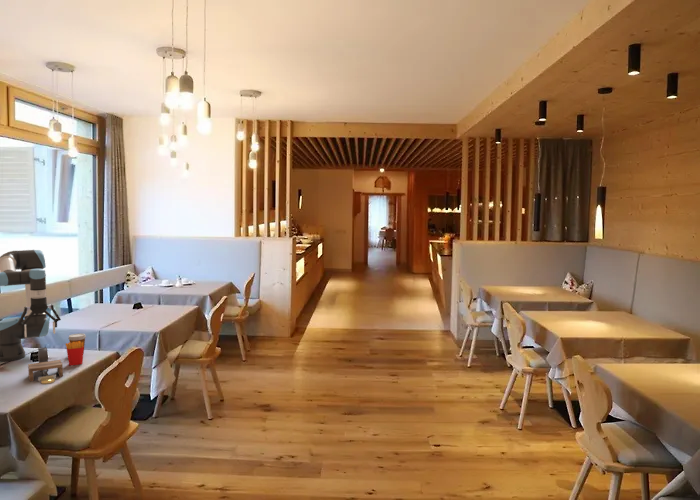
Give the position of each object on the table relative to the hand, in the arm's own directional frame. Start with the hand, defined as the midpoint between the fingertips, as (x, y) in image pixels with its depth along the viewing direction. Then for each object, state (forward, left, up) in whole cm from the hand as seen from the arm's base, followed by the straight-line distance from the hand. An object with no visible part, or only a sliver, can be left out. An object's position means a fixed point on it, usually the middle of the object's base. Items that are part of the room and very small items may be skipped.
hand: (40, 335), depth 289 cm
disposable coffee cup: (-21, +21, -20) cm, 35 cm away
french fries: (-1, +17, -20) cm, 26 cm away
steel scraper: (+11, +1, -19) cm, 22 cm away
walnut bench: (+14, +1, -19) cm, 24 cm away
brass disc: (+25, +1, -20) cm, 32 cm away
